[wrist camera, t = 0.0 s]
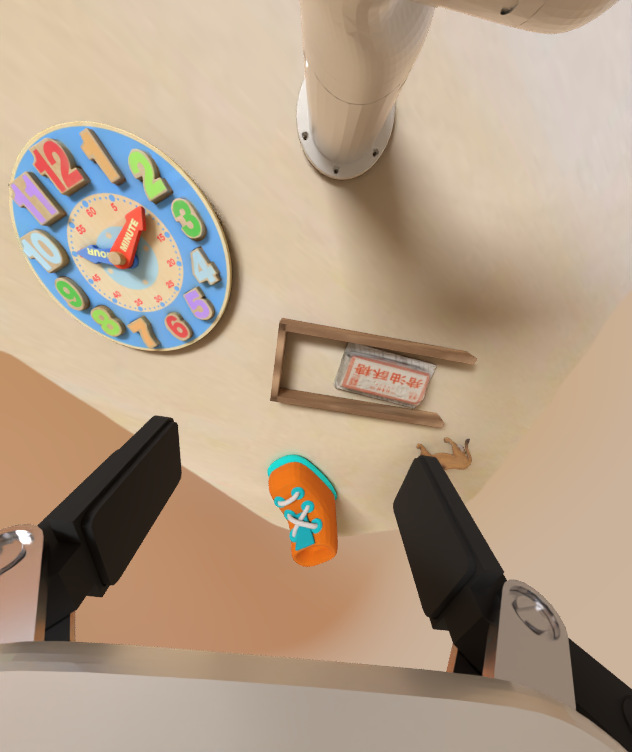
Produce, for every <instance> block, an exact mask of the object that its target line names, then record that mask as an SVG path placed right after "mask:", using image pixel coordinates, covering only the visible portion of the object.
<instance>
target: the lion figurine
mask: <svg viewBox="0 0 632 752" xmlns="http://www.w3.org/2000/svg"><path fill="white" fill-rule="evenodd" d="M469 440H470V439H467V440H466V441H465V449H466V452H465V450H464V447H463V446H461V445H458V446H457V445H456V443H454V442H453V441H452V440H451V439H449V438H445V439H444V442H446V443H450V444H451V445H452V448H453V453H454V454H453V455H450V454H446V453H437V454H434V455H431V454H430V453H428V452H427V450H426V449H425V447H424V446H423V445H422V444H418V445H417V448H418V449H420V450H421V455H425V456H432V457H436V458H437V459H438V461H439V462H440V464H441V466H442V467H443V469H444V470H446V469H453V468H454V469H465V468H467V467H468V466H469V465H470V464H471V462H472V459H471V455H470V453H469V450H468V443H469ZM466 453H467V457H468V458H467V457H466Z"/></svg>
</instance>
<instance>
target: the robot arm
mask: <svg viewBox="0 0 632 752" xmlns="http://www.w3.org/2000/svg"><path fill="white" fill-rule="evenodd" d="M618 1H619V0H300V11H301V25H302V39H303V53H304V67H305V77H304V79H303V82H302V85H301V88H300V91H299V95H298V100H297V110H296V121H297V130H298V135H299V140H300V143H301V146H302V149H303V151H304V153H305V155H306V157H307V158H308V160H309V161H310V162H311V164H312V165H313V166H314V167H315V168H316V169H317V170H318V171H319V172H320V173H322V174H324V175H325V176H327V177H330V178H333V179H337V180H347V179H352V178H355V177H357V176H360V175H362V174H363V173H365V172H366V171H368V170H369V169H370V168H371V167H372V166H373V165H374V164H375V163H376V162H377V160H378V159H379V157H380V156H381V155H382V153H383V151H384V149H385V148H386V146H387V143H388V141H389V138H390V136H391V132H392V128H393V124H394V115H395V101H396V99H397V97H398V95H399V93H400V91H401V89H402V87H403V85H404V83H405V81H406V79H407V77H408V75H409V73H410V70H411V68H412V66H413V64H414V62H415V60H416V58H417V56H418V54H419V52H420V50H421V48H422V46H423V44H424V41H425V39H426V36H427V33H428V31H429V28H430V25H431V21H432V17H433V13H434V10H435V8H437V7H438V6H440V7H443V8H447V9H450V10H454V11H457V12H461V13H464V14H468V15H471V16H475V17H478V18H482V19H485V20H489V21H492V22H496V23H499V24H503V25H506V26H510V27H515V28H519V29H523V30H526V31H532V32H538V33H544V34H557V33H563V32H567V31H570V30H573V29H576V28H579V27H581V26H583V25H585V24H587V23H588V22H590V21H592V20H594V19H595V18H597V17H598V16H600V15H601V14H602V13H604V12H605V11H607V10H608V9H609V8H611V7H612V6H613V5H614V4H615V3H617V2H618ZM304 137H307V140H304ZM373 153H375V154H376V156H375V157H374V156H373ZM335 170H337V171H338V173H337V174H335V173H334V171H335ZM181 473H182V472H181V459H180V447H179V434H178V424H177V423H176V422H174V420H173V418H170V417H163V416H153V417H152V418H151V419H150V420H149V421H148V422H147V423H146V424H145V425H144V426H143V427H142V428H141V429H140V430H139V431H138V432H137V433H136V434H135V435H134V436H132V437H131V438H130V439H129V440H128V441H127V442H126V443H125V444H124V445H123V446H122V447H121V448H120V449H118V450H117V451H115V452H114V453H113V454H112V455H111V456H109V458H107V459H106V460H105V461H104V462H103V463H102V464H101V465H100V466H99V467H98V468H97V469H96V470H95V471H94V472H93V473H92V474H91V475H90V476H89V477H88V478H86V479H85V480H84V482H83V483H81V484H80V485H79V486H78V487H77V488H76V489H75V490H74V491H73V492H72V493H71V494H70V495H69V496H68V497H67V498H66V499H65V500H64V501H63V502H61V503H60V504H59V506H57V507H56V508H55V509H54V510H53V511H52V512H51V513H50V514H49V515H48V516H47V517H46V518H45V519H44V520H43V521H42V522H41V523H40V524H38V526H35V525H30V524H23V525H15V526H12V527H8V528H5V529H2V530H0V752H632V689H631V688H629V687H628V686H627V685H626V684H625V683H623V682H622V681H621V680H620V679H618V678H617V677H616V676H615V675H613V674H612V673H611V672H610V671H609V670H607V669H606V668H605V667H604V666H602V665H601V664H600V663H599V662H597V661H596V660H595V659H594V658H592V657H591V656H590V655H589V654H588V653H586V652H585V651H584V650H583V649H582V648H580V647H579V646H578V645H576V644H575V643H574V642H573V641H572V640H570V639H569V638H568V635H567V631H566V628H565V626H564V624H563V622H562V620H561V618H560V616H559V615H558V613H557V612H556V611H555V609H554V608H553V606H552V605H551V604H550V603H549V602H548V601H547V600H546V599H545V598H544V597H543V596H542V595H541V594H540V593H539V592H537V591H536V590H535V589H534V588H532V587H531V586H529V585H527V584H526V583H524V582H521V581H518V580H508V581H507V580H506V578H505V576H504V575H503V573H504V571H503V569H502V568H501V566H500V564H499V563H498V561H497V559H496V558H495V556H494V554H493V552H492V551H491V549H490V547H489V546H488V544H487V542H486V540H485V539H484V537H483V535H482V534H481V532H480V530H479V529H478V527H477V525H476V524H475V522H474V520H473V518H472V517H471V515H470V513H469V512H468V510H467V508H466V507H465V505H464V503H463V501H462V500H461V498H460V496H459V495H458V493H457V491H456V489H455V488H454V486H453V484H452V483H451V481H450V479H449V478H448V476H447V474H446V472H445V471H444V469H443V467H442V466H441V464H440V462H439V461H438V459H437V458H436V457H432V456H425V455H420V456H419V457H418V458H415V459H414V460H413V463H412V465H411V467H410V469H409V471H408V473H407V475H406V477H405V479H404V481H403V484H402V486H401V488H400V490H399V492H398V494H397V496H396V498H395V500H394V504H393V509H394V514H395V517H396V520H397V524H398V527H399V530H400V534H401V537H402V540H403V544H404V547H405V551H406V554H407V557H408V561H409V564H410V567H411V571H412V574H413V578H414V581H415V584H416V588H417V591H418V594H419V598H420V601H421V605H422V608H423V611H424V613H425V615H426V616H427V617H429V618H430V621H431V624H432V628H433V629H437V630H447V631H449V632H450V636H451V638H452V641H453V646H452V649H451V654H450V658H449V662H448V667H447V671H446V672H441V671H432V670H422V669H412V668H400V667H389V666H378V665H367V664H355V663H344V662H333V661H321V660H310V659H298V658H286V657H273V656H262V655H249V654H238V653H226V652H213V651H200V650H188V649H175V648H161V647H149V646H137V645H136V646H135V645H121V644H103V643H85V642H75V610H77V609H78V607H79V606H80V604H81V603H82V601H83V600H84V598H85V597H86V596H94V597H103V595H104V594H105V592H106V591H107V589H108V587H109V586H110V585H114V584H115V583H116V582H117V581H118V580H119V579H120V577H121V576H122V574H123V572H124V571H125V569H126V568H127V566H128V564H129V563H130V561H131V559H132V558H133V556H134V555H135V553H136V551H137V550H138V548H139V546H140V545H141V543H142V542H143V540H144V538H145V537H146V535H147V533H148V532H149V530H150V529H151V527H152V525H153V524H154V522H155V520H156V519H157V517H158V516H159V514H160V512H161V511H162V509H163V507H164V506H165V504H166V503H167V501H168V499H169V497H170V496H171V494H172V493H173V491H174V490H175V488H176V486H177V485H178V483H179V481H180V479H181Z"/></svg>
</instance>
